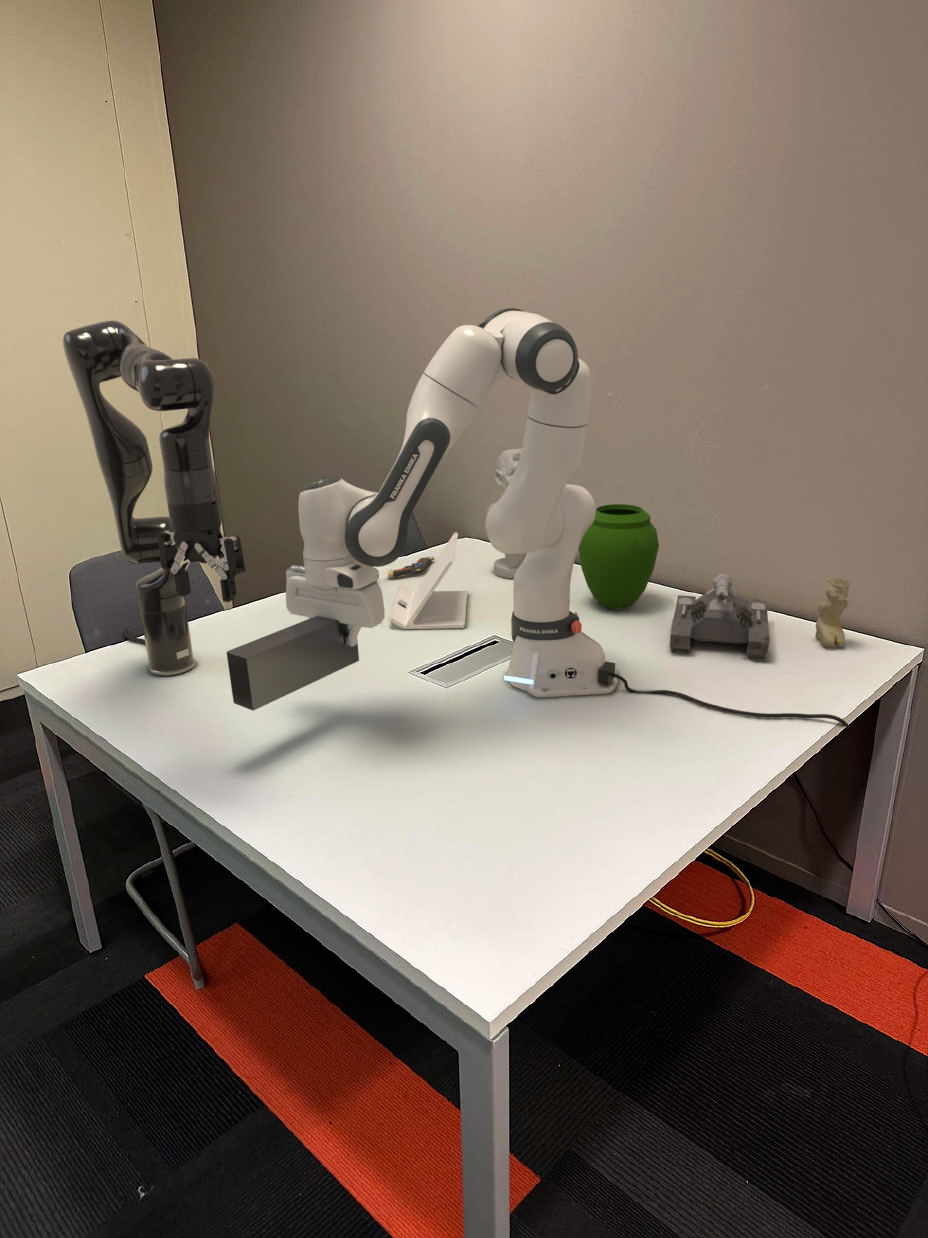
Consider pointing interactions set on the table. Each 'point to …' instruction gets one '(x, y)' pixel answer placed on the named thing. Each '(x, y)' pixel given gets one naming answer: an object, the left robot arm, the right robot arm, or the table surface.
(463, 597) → the tablet stand
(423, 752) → the table surface
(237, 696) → the bar
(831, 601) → the sculpture
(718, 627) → the toy
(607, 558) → the vase
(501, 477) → the bust sculpture
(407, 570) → the toy gun
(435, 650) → the table surface
